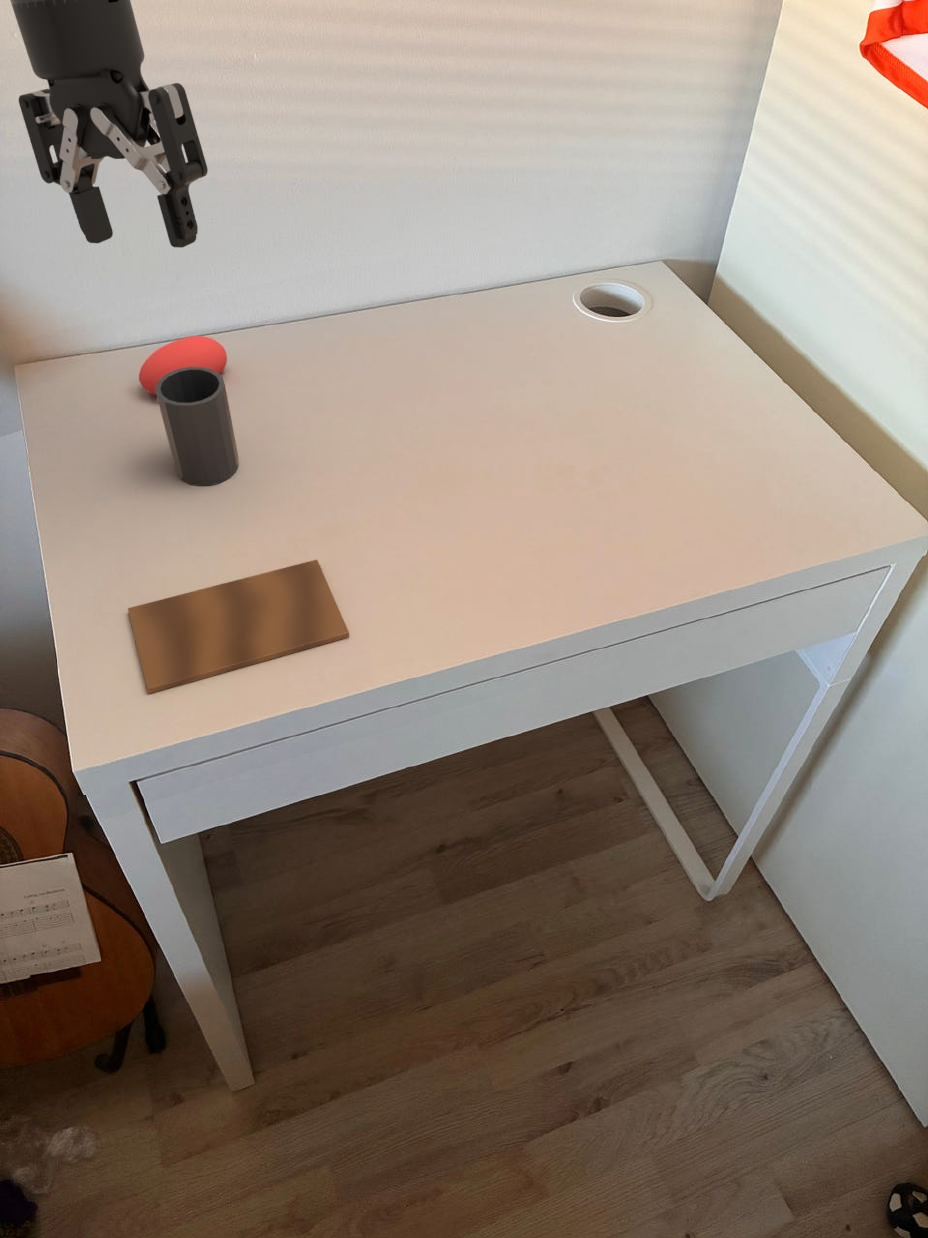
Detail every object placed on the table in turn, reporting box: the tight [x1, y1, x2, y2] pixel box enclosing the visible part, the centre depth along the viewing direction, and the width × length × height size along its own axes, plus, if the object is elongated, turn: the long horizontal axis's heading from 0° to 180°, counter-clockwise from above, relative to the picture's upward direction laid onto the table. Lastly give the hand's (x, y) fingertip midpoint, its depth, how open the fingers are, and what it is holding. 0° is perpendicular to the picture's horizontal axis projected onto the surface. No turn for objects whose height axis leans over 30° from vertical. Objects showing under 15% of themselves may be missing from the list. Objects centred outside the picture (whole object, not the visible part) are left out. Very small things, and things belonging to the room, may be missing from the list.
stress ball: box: [138, 335, 228, 396], centre depth 98 cm, size 5×9×6 cm, turn 118°
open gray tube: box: [155, 367, 240, 487], centre depth 88 cm, size 6×6×9 cm
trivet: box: [127, 559, 350, 695], centre depth 77 cm, size 16×9×1 cm, turn 112°
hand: (142, 242), depth 73 cm, fingers open, 8 cm apart
